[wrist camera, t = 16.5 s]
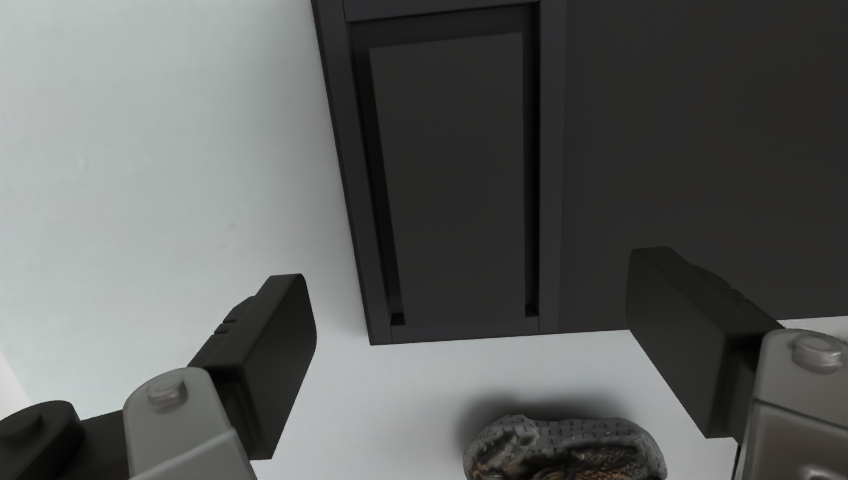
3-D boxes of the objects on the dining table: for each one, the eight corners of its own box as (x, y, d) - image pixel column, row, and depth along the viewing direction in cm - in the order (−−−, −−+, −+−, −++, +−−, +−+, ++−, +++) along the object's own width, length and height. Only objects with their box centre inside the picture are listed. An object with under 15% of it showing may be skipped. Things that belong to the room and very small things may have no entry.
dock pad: (372, 335, 26) (366, 359, 23) (312, -23, 19) (297, -33, 17) (1098, 289, 23) (1161, 311, 21) (1337, -143, 16) (1467, -172, 14)
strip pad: (378, 48, 19) (367, 48, 16) (509, 34, 18) (522, 31, 16) (409, 296, 23) (405, 329, 21) (515, 289, 23) (525, 321, 20)
